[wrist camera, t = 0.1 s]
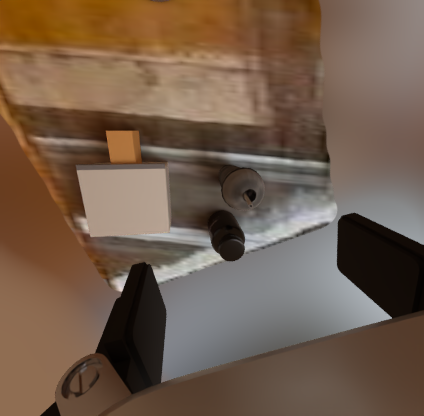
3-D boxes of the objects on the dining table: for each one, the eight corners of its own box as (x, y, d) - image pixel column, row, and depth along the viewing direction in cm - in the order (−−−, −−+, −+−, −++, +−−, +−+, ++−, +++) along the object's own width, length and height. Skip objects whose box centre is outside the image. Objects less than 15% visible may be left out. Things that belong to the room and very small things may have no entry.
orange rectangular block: (124, 192, 44) (116, 201, 39) (116, 130, 40) (105, 130, 35) (145, 192, 45) (139, 201, 39) (138, 130, 41) (131, 130, 35)
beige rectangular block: (105, 219, 47) (90, 236, 39) (94, 158, 42) (75, 165, 35) (171, 216, 48) (169, 232, 41) (167, 157, 44) (164, 163, 36)
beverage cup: (244, 191, 49) (283, 229, 30) (212, 192, 48) (231, 232, 29) (245, 158, 46) (289, 177, 28) (212, 158, 45) (233, 179, 27)
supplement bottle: (207, 210, 49) (214, 234, 38) (236, 209, 50) (252, 232, 39) (206, 237, 51) (213, 267, 40) (234, 236, 52) (249, 265, 41)
